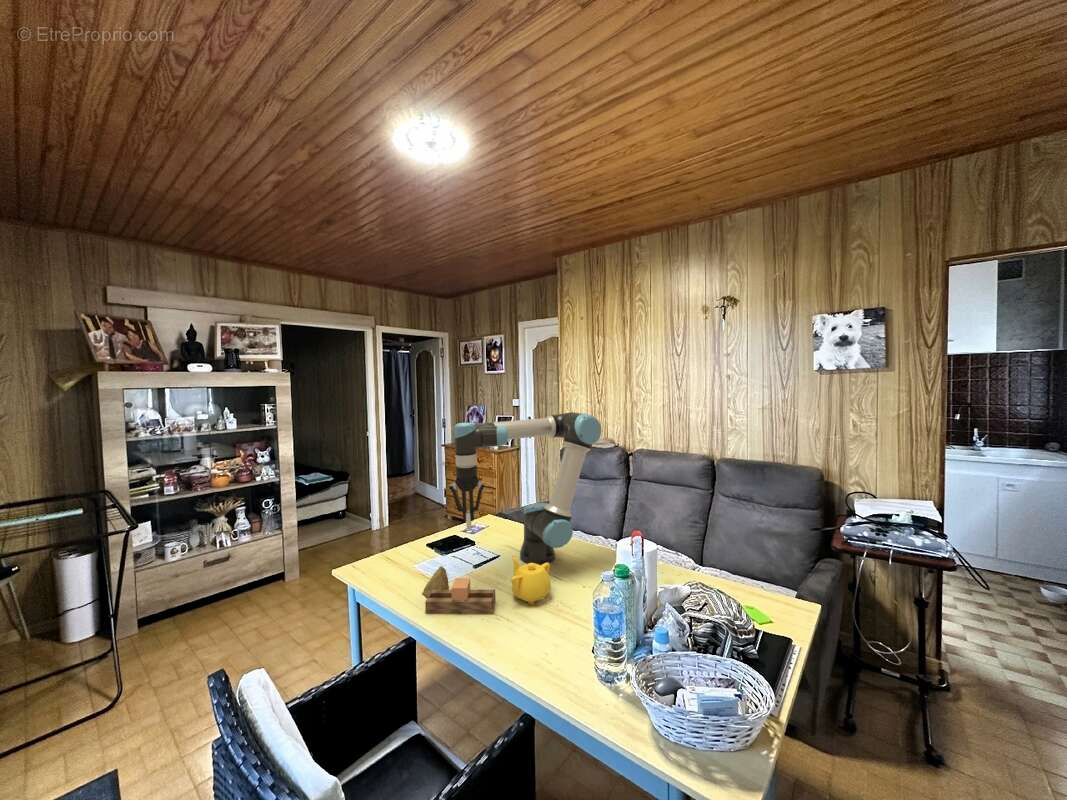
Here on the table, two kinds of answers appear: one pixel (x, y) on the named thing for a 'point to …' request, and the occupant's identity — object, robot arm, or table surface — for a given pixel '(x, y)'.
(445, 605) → the beam
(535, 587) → the teapot
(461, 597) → the orange brown block
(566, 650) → the table surface
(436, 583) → the rock
